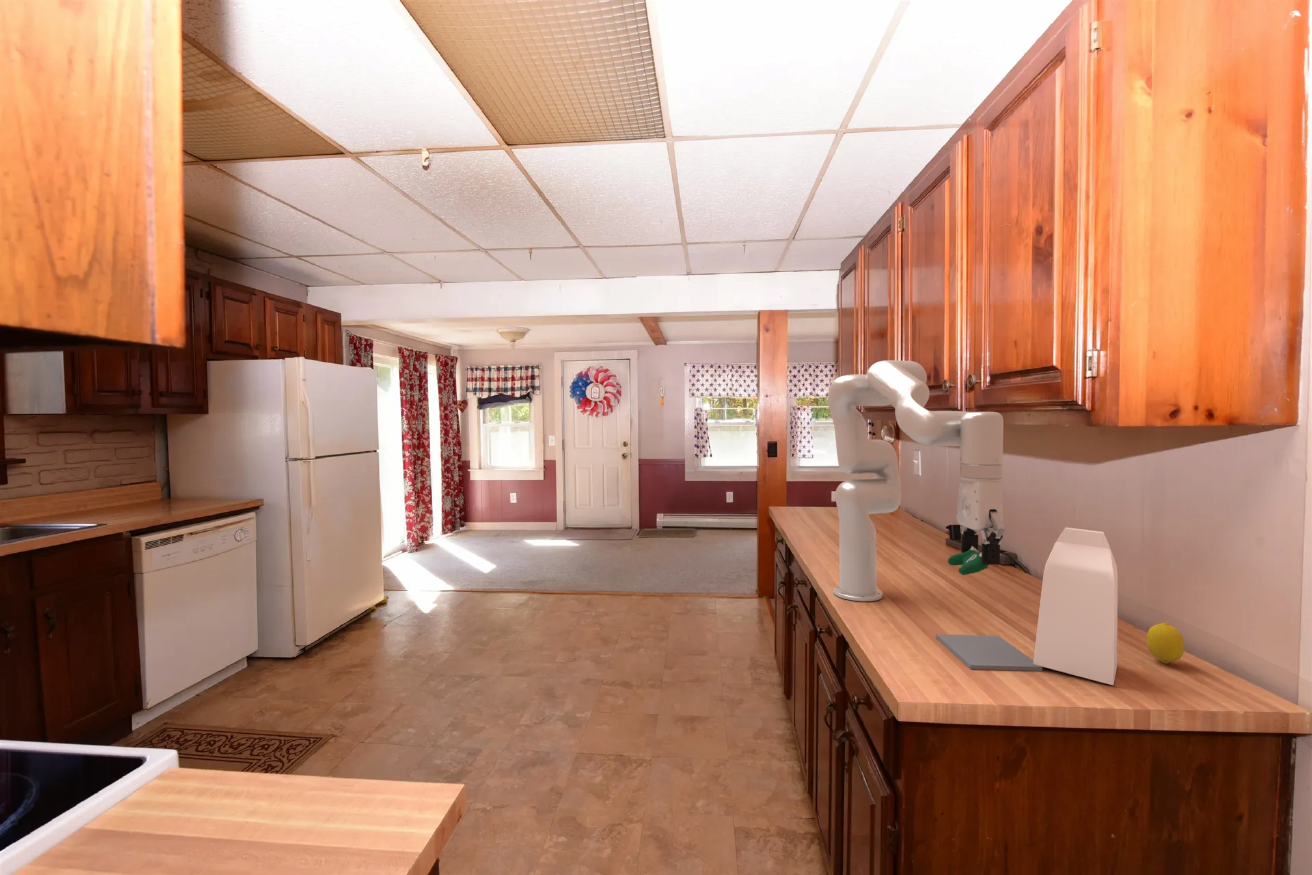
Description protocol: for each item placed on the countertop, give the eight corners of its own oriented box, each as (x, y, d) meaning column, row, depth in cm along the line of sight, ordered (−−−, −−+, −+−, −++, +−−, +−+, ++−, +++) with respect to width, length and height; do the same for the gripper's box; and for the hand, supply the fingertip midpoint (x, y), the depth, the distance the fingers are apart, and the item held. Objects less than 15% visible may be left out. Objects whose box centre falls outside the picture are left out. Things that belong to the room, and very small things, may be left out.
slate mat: (936, 637, 125) (936, 634, 125) (998, 639, 124) (998, 635, 124) (970, 669, 109) (970, 665, 109) (1042, 670, 108) (1042, 666, 108)
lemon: (1139, 660, 113) (1140, 619, 112) (1156, 655, 115) (1157, 616, 115) (1173, 671, 108) (1174, 629, 107) (1190, 666, 110) (1191, 625, 109)
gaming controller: (972, 585, 113) (997, 565, 112) (958, 571, 113) (982, 551, 112) (958, 572, 122) (980, 554, 121) (944, 559, 122) (967, 540, 121)
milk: (1032, 663, 109) (1041, 528, 109) (1042, 647, 118) (1050, 522, 117) (1113, 685, 101) (1123, 539, 101) (1117, 666, 110) (1126, 531, 109)
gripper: (943, 468, 125) (942, 548, 126) (982, 477, 108) (981, 569, 108) (979, 469, 124) (978, 549, 125) (1024, 477, 107) (1022, 570, 108)
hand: (979, 558), depth 117 cm, fingers closed on gaming controller, 8 cm apart
